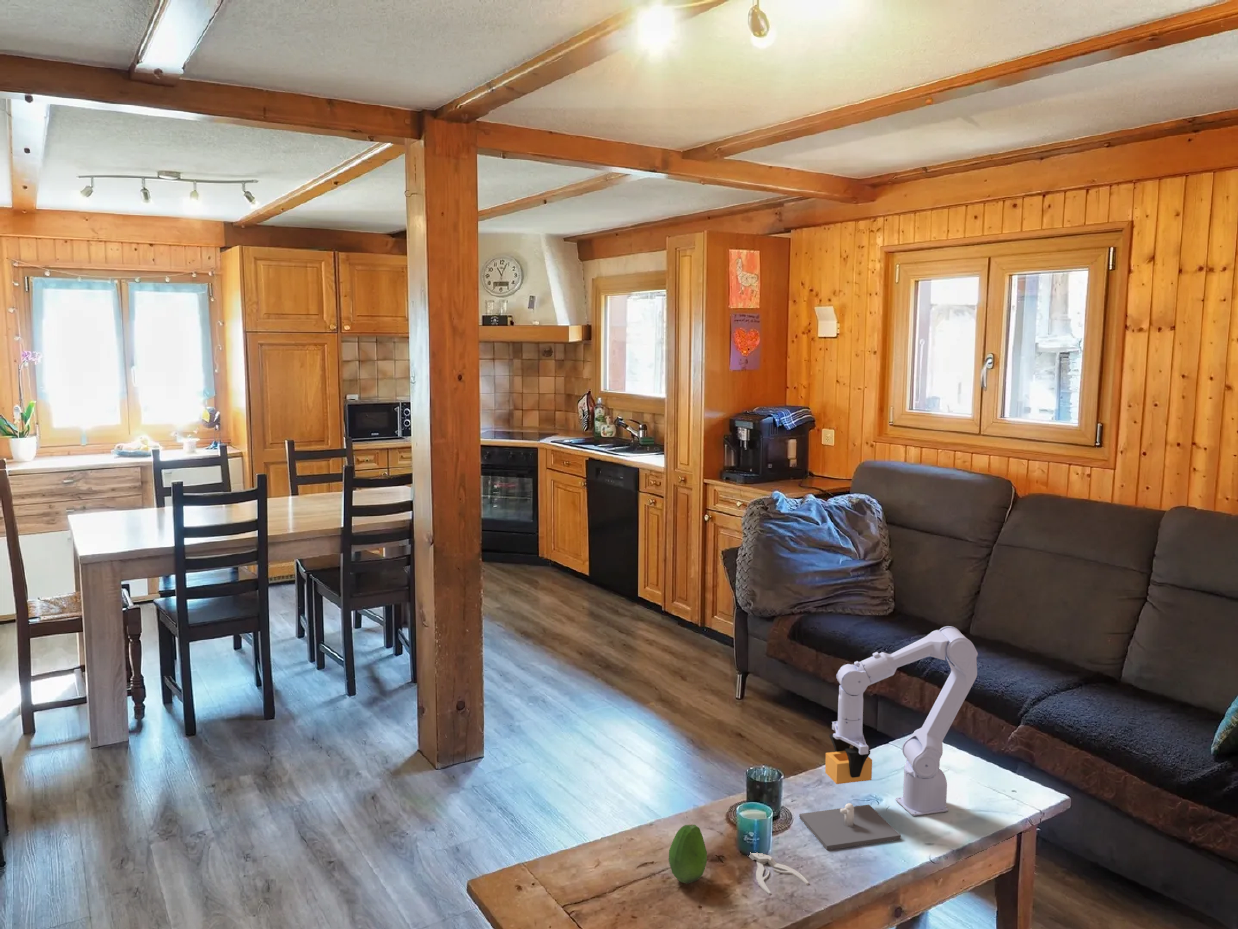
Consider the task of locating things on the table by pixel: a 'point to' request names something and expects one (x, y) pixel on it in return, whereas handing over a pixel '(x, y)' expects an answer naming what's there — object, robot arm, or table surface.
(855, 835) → the hook board
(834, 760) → the orange link
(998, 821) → the table surface
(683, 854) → the avocado
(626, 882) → the table surface
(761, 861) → the pliers
